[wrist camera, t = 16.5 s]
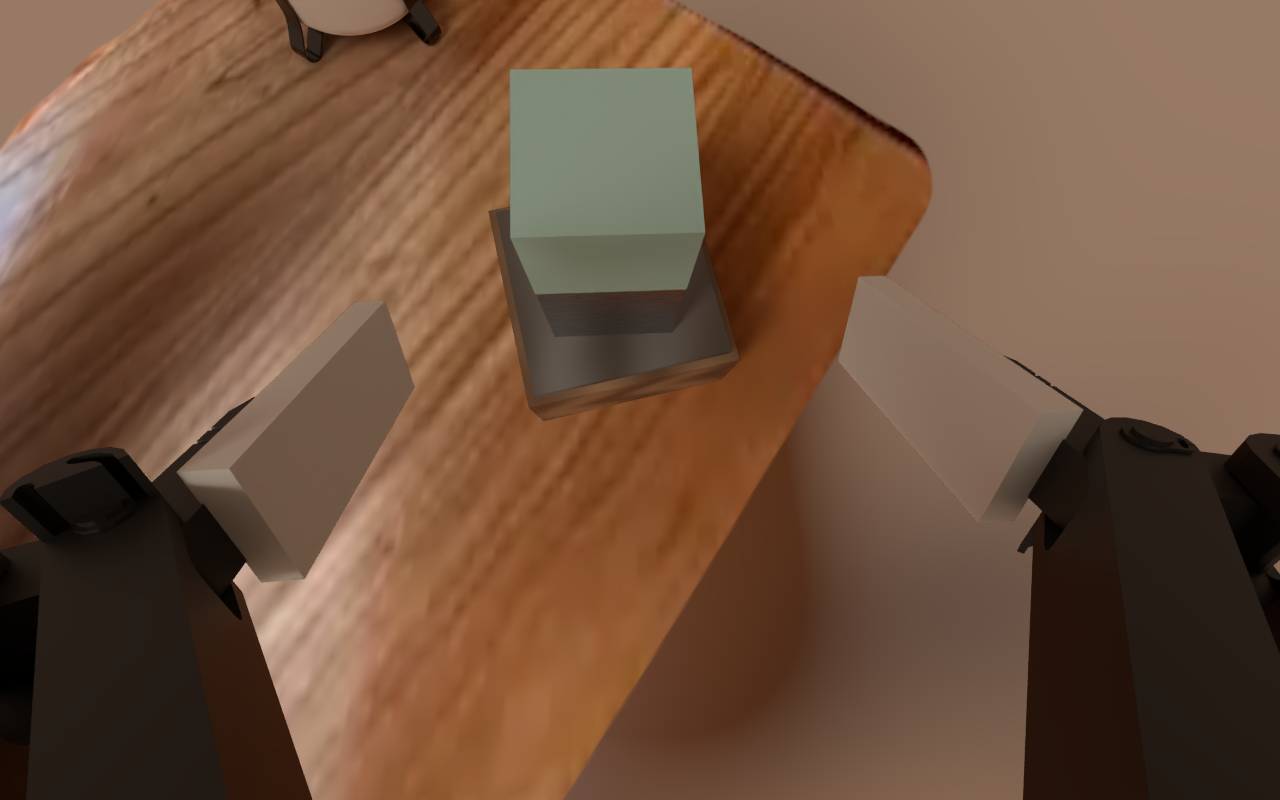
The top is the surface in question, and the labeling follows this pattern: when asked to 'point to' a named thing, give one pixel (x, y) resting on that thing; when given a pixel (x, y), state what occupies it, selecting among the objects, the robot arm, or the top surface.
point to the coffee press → (352, 20)
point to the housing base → (611, 312)
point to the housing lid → (605, 179)
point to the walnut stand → (613, 344)
